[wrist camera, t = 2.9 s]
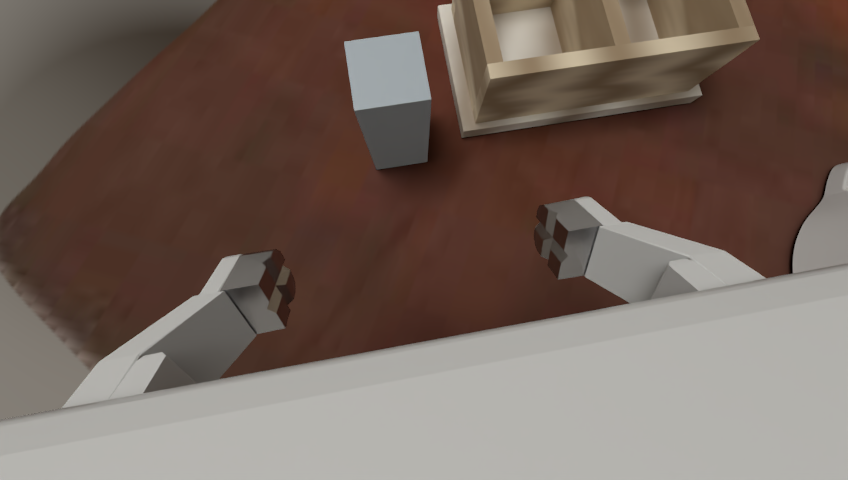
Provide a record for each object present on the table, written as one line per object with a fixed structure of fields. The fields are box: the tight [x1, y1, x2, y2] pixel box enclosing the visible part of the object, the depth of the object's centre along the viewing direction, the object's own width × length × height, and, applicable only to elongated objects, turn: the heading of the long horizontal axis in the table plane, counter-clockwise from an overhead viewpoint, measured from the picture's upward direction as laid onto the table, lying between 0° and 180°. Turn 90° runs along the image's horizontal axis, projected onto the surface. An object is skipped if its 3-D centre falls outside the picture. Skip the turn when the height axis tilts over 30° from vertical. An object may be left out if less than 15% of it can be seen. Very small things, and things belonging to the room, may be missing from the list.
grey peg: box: [344, 31, 431, 170], centre depth 20 cm, size 4×4×8 cm
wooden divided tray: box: [437, 0, 760, 138], centre depth 22 cm, size 19×11×6 cm, turn 100°
